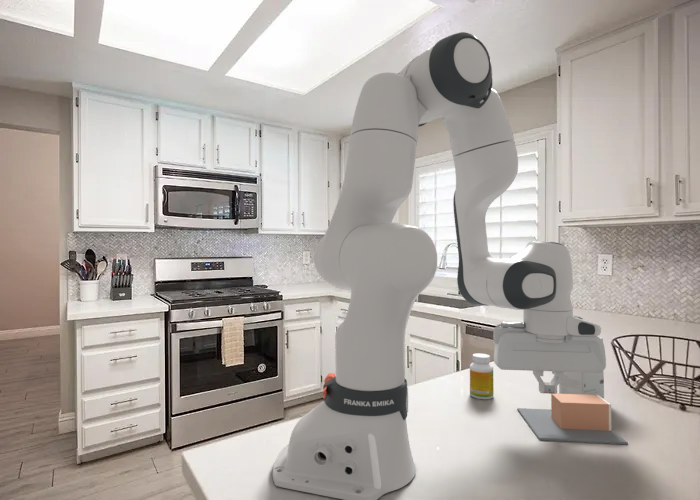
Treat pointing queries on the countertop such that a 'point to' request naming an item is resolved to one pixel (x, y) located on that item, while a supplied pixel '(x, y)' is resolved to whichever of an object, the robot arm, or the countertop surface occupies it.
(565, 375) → the skincare box
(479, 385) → the supplement bottle
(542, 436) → the mat
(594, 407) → the block
